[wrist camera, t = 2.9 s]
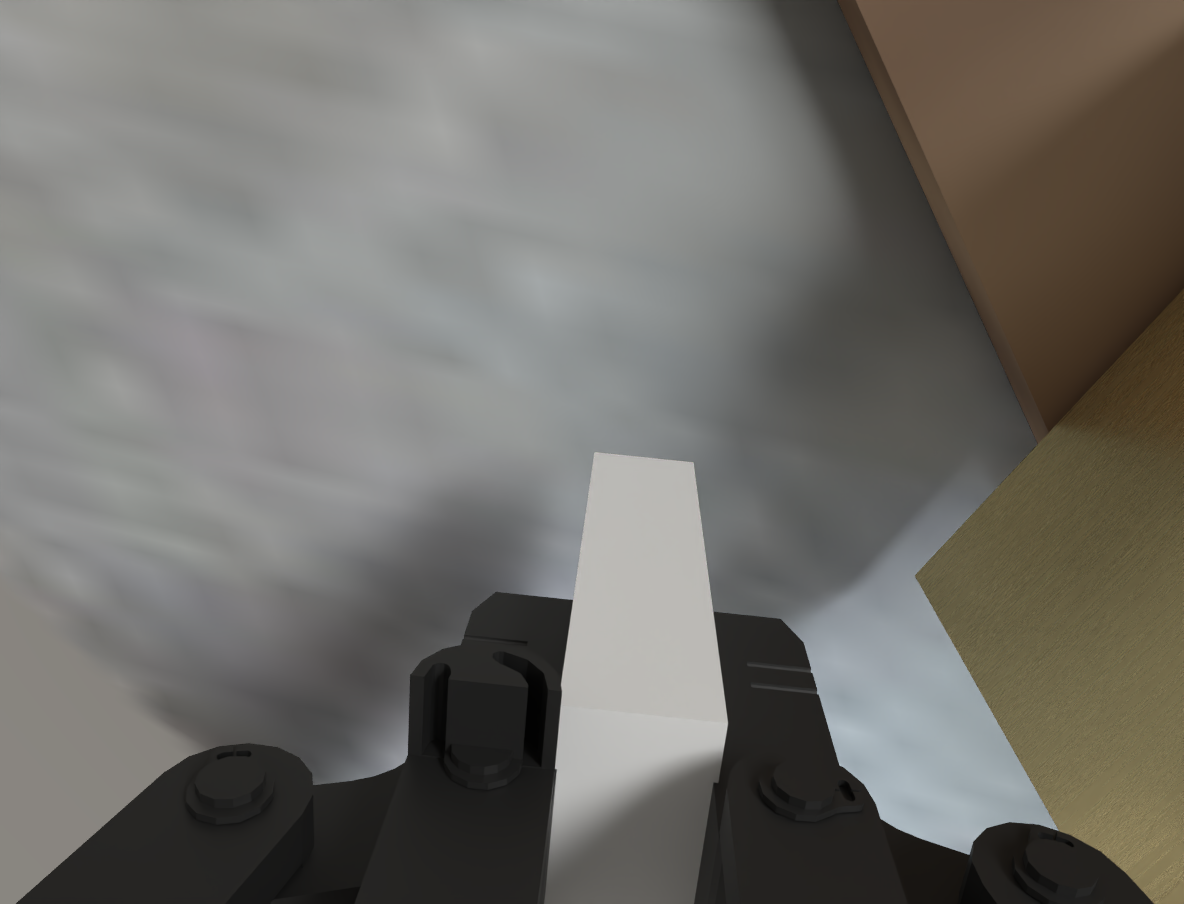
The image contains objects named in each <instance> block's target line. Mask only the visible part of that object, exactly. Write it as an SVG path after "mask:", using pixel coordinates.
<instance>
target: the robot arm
mask: <svg viewBox="0 0 1184 904" xmlns="http://www.w3.org/2000/svg"><path fill="white" fill-rule="evenodd" d="M16 904H1154V903H1153V902H1152V901H1151V900H1150V899H1149V898H1148V896H1147V895H1146V894H1145V893H1144V892H1143V891H1142V890H1141V889H1140V888H1139V887H1138V886H1137V884H1136V883H1135V882H1134V881H1133V880H1132V879H1131V878H1130V877H1129V876H1128V875H1127V874H1126V873H1125V872H1124V871H1123V870H1122V869H1121V868H1119V867H1118V866H1117V865H1116V864H1115V863H1114V862H1112V861H1111V860H1110V859H1109V858H1108V857H1107V856H1105V855H1104V854H1103V853H1102V852H1101V851H1099V850H1097V849H1095V848H1093V847H1091V846H1090V845H1088V844H1086V843H1084V842H1082V841H1081V840H1079V839H1077V838H1075V837H1073V836H1071V835H1069V834H1066V833H1063V832H1060V831H1057V830H1054V829H1050V828H1047V827H1044V826H1041V825H1036V824H1023V823H1011V822H1009V823H1005V824H1001V825H997V826H993V827H989V828H986V829H985V830H984V831H983V832H982V833H981V834H980V835H979V836H978V837H977V839H976V840H975V841H974V842H973V845H972V849H971V852H970V855H967V854H964V853H961V852H958V851H955V850H952V849H949V848H946V847H943V846H940V845H937V844H934V843H931V842H928V841H925V840H922V839H920V838H917V837H915V836H913V835H910V834H908V833H905V832H903V831H900V830H898V829H896V828H895V827H893V826H891V825H890V824H888V823H886V822H885V821H883V820H881V819H880V816H879V813H878V810H877V807H876V804H875V802H874V801H873V799H872V797H871V796H870V794H869V792H868V791H867V789H866V787H865V786H864V784H863V783H861V782H860V781H859V780H858V779H857V778H855V777H854V776H853V775H852V774H851V773H849V772H848V771H847V770H846V769H845V768H843V767H841V766H839V763H838V760H837V756H836V753H835V749H834V746H833V742H832V739H831V736H830V732H829V729H828V725H827V722H826V718H825V715H824V711H823V708H822V705H821V701H820V698H819V695H817V687H816V684H815V681H814V677H813V674H812V673H811V667H810V663H809V660H808V657H807V653H806V650H805V646H804V643H803V642H802V641H801V640H800V639H799V638H798V637H797V636H796V634H795V633H794V632H793V631H792V630H791V629H790V628H789V627H788V626H787V625H786V624H785V623H784V622H783V621H782V620H781V619H777V618H767V617H757V616H748V615H738V614H729V613H719V612H713V606H712V599H711V591H710V583H709V576H708V568H707V561H706V553H705V546H704V538H703V531H702V523H701V515H700V508H699V500H698V493H697V485H696V478H695V470H694V463H693V462H685V461H675V460H666V459H656V458H646V457H636V456H627V455H617V454H607V453H597V452H595V453H594V460H593V467H592V473H591V480H590V487H589V494H588V501H587V508H586V515H585V522H584V529H583V536H582V543H581V550H580V556H579V563H578V570H577V577H576V584H575V591H574V598H573V600H567V599H557V598H548V597H538V596H529V595H519V594H510V593H500V592H495V593H494V594H493V595H492V596H490V597H489V598H488V599H487V600H485V601H484V602H483V603H482V604H480V605H479V606H478V607H477V608H475V609H474V610H473V611H472V614H471V617H470V620H469V623H468V625H467V628H466V631H465V634H464V639H463V640H462V643H461V645H459V646H455V647H450V648H445V649H442V650H440V651H438V652H437V653H435V654H433V655H431V656H429V657H427V658H425V659H423V660H422V661H421V662H420V664H419V665H418V666H417V667H416V669H415V670H414V671H413V673H412V674H411V675H410V703H409V736H408V756H407V758H406V761H405V763H403V764H402V765H400V766H398V767H397V768H395V769H393V770H390V771H387V772H385V773H382V774H379V775H377V776H374V777H369V778H364V779H359V780H354V781H347V782H339V783H330V784H322V785H313V781H312V773H311V772H310V771H309V769H308V768H307V767H306V766H305V764H304V763H303V762H302V761H301V759H300V758H299V757H297V756H295V755H292V754H290V753H288V752H286V751H284V750H282V749H280V748H278V747H272V746H264V745H257V744H250V743H248V744H239V745H230V746H220V747H216V748H213V749H210V750H207V751H204V752H201V753H198V754H195V755H192V756H189V757H187V758H186V759H184V760H183V761H181V762H180V763H179V764H177V765H175V766H174V767H172V768H171V769H169V770H167V771H166V772H164V773H163V774H162V775H161V776H160V777H158V778H157V779H156V780H155V781H154V782H153V783H152V784H151V785H150V786H148V787H147V788H146V789H145V790H144V791H143V792H141V793H140V794H139V795H138V796H137V797H136V798H135V799H134V800H132V801H131V802H130V803H129V804H128V805H127V806H126V807H125V808H123V809H122V810H121V811H120V812H119V813H118V814H117V815H115V816H114V817H113V818H112V819H111V820H110V821H109V822H108V823H106V824H105V825H104V826H103V827H102V828H101V829H100V830H99V831H97V832H96V833H95V834H94V835H93V836H92V837H91V838H89V840H87V841H86V842H85V843H84V844H83V845H82V846H81V847H79V848H78V849H77V850H76V851H75V852H74V853H72V854H71V855H70V856H69V857H68V858H67V859H66V860H65V861H63V862H62V863H61V864H60V865H59V866H58V867H57V868H56V869H54V870H53V871H52V872H51V873H50V874H49V875H48V876H46V877H45V878H44V879H43V880H42V881H41V882H40V883H39V884H38V885H36V886H35V887H34V888H33V889H32V890H31V891H30V892H29V893H27V894H26V895H25V896H24V897H23V898H22V899H21V900H20V901H18V902H17V903H16Z"/></svg>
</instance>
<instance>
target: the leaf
mask: <svg viewBox="0 0 1184 904" xmlns="http://www.w3.org/2000/svg"><path fill="white" fill-rule="evenodd" d="M915 577H916V579H917V581H918V582H919V584H920V586H921V588H922V589H923V591H924V593H925V595H926V596H927V598H928V600H929V602H930V603H931V605H932V607H933V609H934V611H935V612H936V614H937V616H938V618H939V619H940V621H941V623H942V625H943V626H944V628H945V630H946V632H947V634H948V635H949V637H950V639H951V641H952V642H953V644H954V646H955V648H956V649H957V651H958V653H959V655H960V656H961V658H962V660H963V662H964V664H965V665H966V667H967V669H968V671H969V672H970V674H971V676H972V678H973V679H974V681H975V683H976V685H977V687H978V688H979V690H980V692H981V694H982V695H983V697H984V699H985V701H986V702H987V704H988V706H989V708H990V709H991V711H992V713H993V715H994V717H995V718H996V720H997V722H998V724H999V725H1000V727H1001V729H1002V731H1003V732H1004V734H1005V736H1006V738H1007V740H1008V741H1009V743H1010V745H1011V747H1012V748H1013V750H1014V752H1015V754H1016V755H1017V757H1018V759H1019V761H1020V762H1021V764H1022V766H1023V768H1024V770H1025V771H1026V773H1027V775H1028V777H1029V778H1030V780H1031V782H1032V784H1033V785H1034V787H1035V789H1036V791H1037V793H1038V794H1039V796H1040V798H1041V800H1042V801H1043V803H1044V805H1045V807H1046V808H1047V810H1048V812H1049V814H1050V815H1051V817H1052V819H1053V821H1054V823H1055V824H1056V826H1057V828H1058V830H1059V831H1060V832H1063V833H1066V834H1069V835H1071V836H1073V837H1075V838H1077V839H1079V840H1081V841H1082V842H1084V843H1086V844H1088V845H1090V846H1091V847H1093V848H1095V849H1097V850H1099V851H1101V852H1102V853H1103V854H1104V855H1105V856H1107V857H1108V858H1109V859H1110V860H1111V861H1112V862H1114V863H1115V864H1116V865H1117V866H1118V867H1119V868H1121V869H1122V870H1123V871H1124V872H1125V873H1126V874H1127V875H1128V876H1129V877H1130V878H1131V879H1132V880H1133V881H1134V882H1135V883H1136V884H1137V886H1138V887H1139V888H1140V889H1141V890H1142V891H1143V892H1144V893H1145V894H1146V895H1147V896H1148V898H1149V899H1150V900H1151V901H1152V902H1153V903H1154V904H1184V289H1183V290H1182V291H1181V292H1180V293H1179V294H1178V295H1177V297H1176V298H1175V299H1174V300H1173V301H1172V302H1171V303H1170V304H1169V305H1168V306H1167V307H1166V308H1165V309H1164V310H1163V311H1162V313H1161V314H1160V315H1159V316H1158V317H1157V318H1156V319H1155V320H1154V321H1153V322H1152V323H1151V324H1150V325H1149V326H1148V327H1147V329H1146V330H1145V331H1144V332H1143V333H1142V334H1141V335H1140V336H1139V337H1138V338H1137V339H1136V340H1135V341H1134V342H1133V343H1132V345H1131V346H1130V347H1129V348H1128V349H1127V350H1126V351H1125V352H1124V353H1123V354H1122V355H1121V356H1120V357H1119V358H1118V359H1117V361H1116V362H1115V363H1114V364H1113V365H1112V366H1111V367H1110V368H1109V369H1108V370H1107V371H1106V372H1105V373H1104V374H1103V375H1102V377H1101V378H1100V379H1099V380H1098V381H1097V382H1096V383H1095V384H1094V385H1093V386H1092V387H1091V388H1090V389H1089V390H1088V391H1087V393H1086V394H1085V395H1084V396H1083V397H1082V398H1081V399H1080V400H1079V401H1078V402H1077V403H1076V404H1075V405H1074V406H1073V407H1072V409H1071V410H1070V411H1069V412H1068V413H1067V414H1066V415H1065V416H1064V417H1063V418H1062V419H1061V420H1060V421H1059V422H1058V423H1057V425H1056V426H1055V427H1054V428H1053V429H1052V430H1051V431H1050V432H1049V433H1048V434H1047V435H1046V436H1045V437H1044V438H1043V439H1042V441H1041V442H1040V443H1039V444H1038V445H1037V446H1036V447H1035V448H1034V449H1033V450H1032V451H1031V452H1030V453H1029V454H1028V455H1027V457H1026V458H1025V459H1024V460H1023V461H1022V462H1021V463H1020V464H1019V465H1018V466H1017V467H1016V468H1015V469H1014V470H1013V471H1012V472H1011V474H1010V475H1009V476H1008V477H1007V478H1006V479H1005V480H1004V481H1003V482H1002V483H1001V484H1000V485H999V486H998V487H997V488H996V490H995V491H994V492H993V493H992V494H991V495H990V496H989V497H988V498H987V499H986V500H985V501H984V502H983V503H982V504H981V506H980V507H979V508H978V509H977V510H976V511H975V512H974V513H973V514H972V515H971V516H970V517H969V518H968V519H967V520H966V522H965V523H964V524H963V525H962V526H961V527H960V528H959V529H958V530H957V531H956V532H955V533H954V534H953V535H952V536H951V538H950V539H949V540H948V541H947V542H946V543H945V544H944V545H943V546H942V547H941V548H940V549H939V550H938V551H937V552H936V554H935V555H934V556H933V557H932V558H931V559H930V560H929V561H928V562H927V563H926V564H925V565H924V566H923V567H922V568H921V570H920V571H919V572H918V573H917V574H916V575H915Z"/></svg>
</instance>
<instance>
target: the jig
mask: <svg viewBox="0 0 1184 904" xmlns="http://www.w3.org/2000/svg"><path fill="white" fill-rule="evenodd" d="M837 1H838V3H839V6H840V8H841V10H842V12H843V14H844V17H845V19H846V21H847V23H848V25H849V28H850V30H851V32H852V34H853V36H854V39H855V41H856V43H857V45H858V48H859V50H860V52H861V54H862V56H863V59H864V61H865V63H866V65H867V67H868V70H869V72H870V74H871V76H872V79H873V81H874V83H875V85H876V87H877V90H878V92H879V94H880V96H881V98H882V101H883V103H884V105H885V107H886V109H887V112H888V114H889V116H890V118H891V121H892V123H893V125H894V127H895V129H896V132H897V134H898V136H899V138H900V140H901V143H902V145H903V147H904V149H905V152H906V154H907V156H908V158H909V160H910V163H911V165H912V167H913V169H914V171H915V174H916V176H917V178H918V180H919V182H920V185H921V187H922V189H923V191H924V194H925V196H926V198H927V200H928V202H929V205H930V207H931V209H932V211H933V213H934V216H935V218H936V220H937V222H938V225H939V227H940V229H941V231H942V233H943V236H944V238H945V240H946V242H947V244H948V247H949V249H950V251H951V253H952V256H953V258H954V260H955V262H956V264H957V267H958V269H959V271H960V273H961V275H962V278H963V280H964V282H965V284H966V286H967V289H968V291H969V293H970V295H971V298H972V300H973V302H974V304H975V306H976V309H977V311H978V313H979V315H980V317H981V320H982V322H983V324H984V326H985V329H986V331H987V333H988V335H989V337H990V340H991V342H992V344H993V346H994V348H995V351H996V353H997V355H998V357H999V359H1000V362H1001V364H1002V366H1003V368H1004V371H1005V373H1006V375H1007V377H1008V379H1009V382H1010V384H1011V386H1012V388H1013V390H1014V393H1015V395H1016V397H1017V399H1018V402H1019V404H1020V406H1021V408H1022V410H1023V413H1024V415H1025V417H1026V419H1027V421H1028V424H1029V426H1030V428H1031V430H1032V432H1033V435H1034V437H1035V439H1036V441H1037V444H1039V443H1040V442H1041V441H1042V439H1043V438H1044V437H1045V436H1046V435H1047V434H1048V433H1049V432H1050V431H1051V430H1052V429H1053V428H1054V427H1055V426H1056V425H1057V423H1058V422H1059V421H1060V420H1061V419H1062V418H1063V417H1064V416H1065V415H1066V414H1067V413H1068V412H1069V411H1070V410H1071V409H1072V407H1073V406H1074V405H1075V404H1076V403H1077V402H1078V401H1079V400H1080V399H1081V398H1082V397H1083V396H1084V395H1085V394H1086V393H1087V391H1088V390H1089V389H1090V388H1091V387H1092V386H1093V385H1094V384H1095V383H1096V382H1097V381H1098V380H1099V379H1100V378H1101V377H1102V375H1103V374H1104V373H1105V372H1106V371H1107V370H1108V369H1109V368H1110V367H1111V366H1112V365H1113V364H1114V363H1115V362H1116V361H1117V359H1118V358H1119V357H1120V356H1121V355H1122V354H1123V353H1124V352H1125V351H1126V350H1127V349H1128V348H1129V347H1130V346H1131V345H1132V343H1133V342H1134V341H1135V340H1136V339H1137V338H1138V337H1139V336H1140V335H1141V334H1142V333H1143V332H1144V331H1145V330H1146V329H1147V327H1148V326H1149V325H1150V324H1151V323H1152V322H1153V321H1154V320H1155V319H1156V318H1157V317H1158V316H1159V315H1160V314H1161V313H1162V311H1163V310H1164V309H1165V308H1166V307H1167V306H1168V305H1169V304H1170V303H1171V302H1172V301H1173V300H1174V299H1175V298H1176V297H1177V295H1178V294H1179V293H1180V292H1181V291H1182V290H1183V289H1184V0H837Z"/></svg>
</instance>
